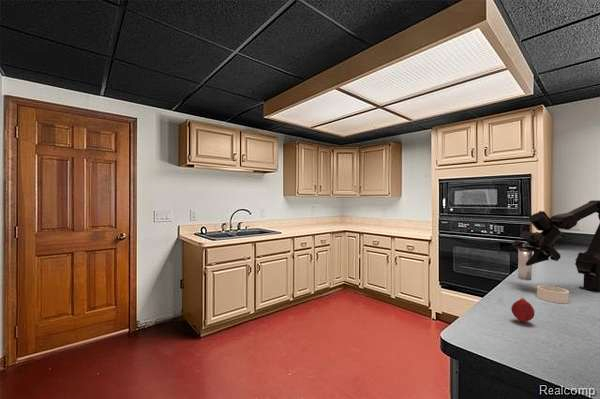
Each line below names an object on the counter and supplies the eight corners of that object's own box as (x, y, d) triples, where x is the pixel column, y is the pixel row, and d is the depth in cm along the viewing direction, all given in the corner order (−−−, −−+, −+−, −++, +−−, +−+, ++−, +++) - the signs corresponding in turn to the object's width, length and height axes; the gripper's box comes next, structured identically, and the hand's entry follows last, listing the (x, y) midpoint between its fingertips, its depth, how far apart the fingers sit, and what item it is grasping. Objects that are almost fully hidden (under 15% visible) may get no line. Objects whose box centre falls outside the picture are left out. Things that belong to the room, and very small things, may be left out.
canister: (522, 277, 129) (523, 247, 128) (534, 280, 124) (535, 249, 124) (514, 277, 127) (515, 248, 127) (526, 280, 123) (526, 250, 122)
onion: (539, 326, 90) (539, 300, 89) (520, 326, 90) (520, 300, 90) (524, 318, 95) (525, 294, 95) (507, 318, 95) (507, 294, 95)
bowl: (547, 294, 121) (547, 284, 121) (574, 301, 112) (574, 291, 112) (531, 296, 118) (531, 286, 118) (558, 304, 109) (558, 293, 109)
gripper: (516, 223, 135) (493, 246, 134) (554, 227, 116) (528, 254, 116) (532, 240, 136) (509, 263, 135) (572, 246, 117) (546, 274, 116)
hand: (521, 263), depth 125 cm, fingers closed on canister, 5 cm apart
